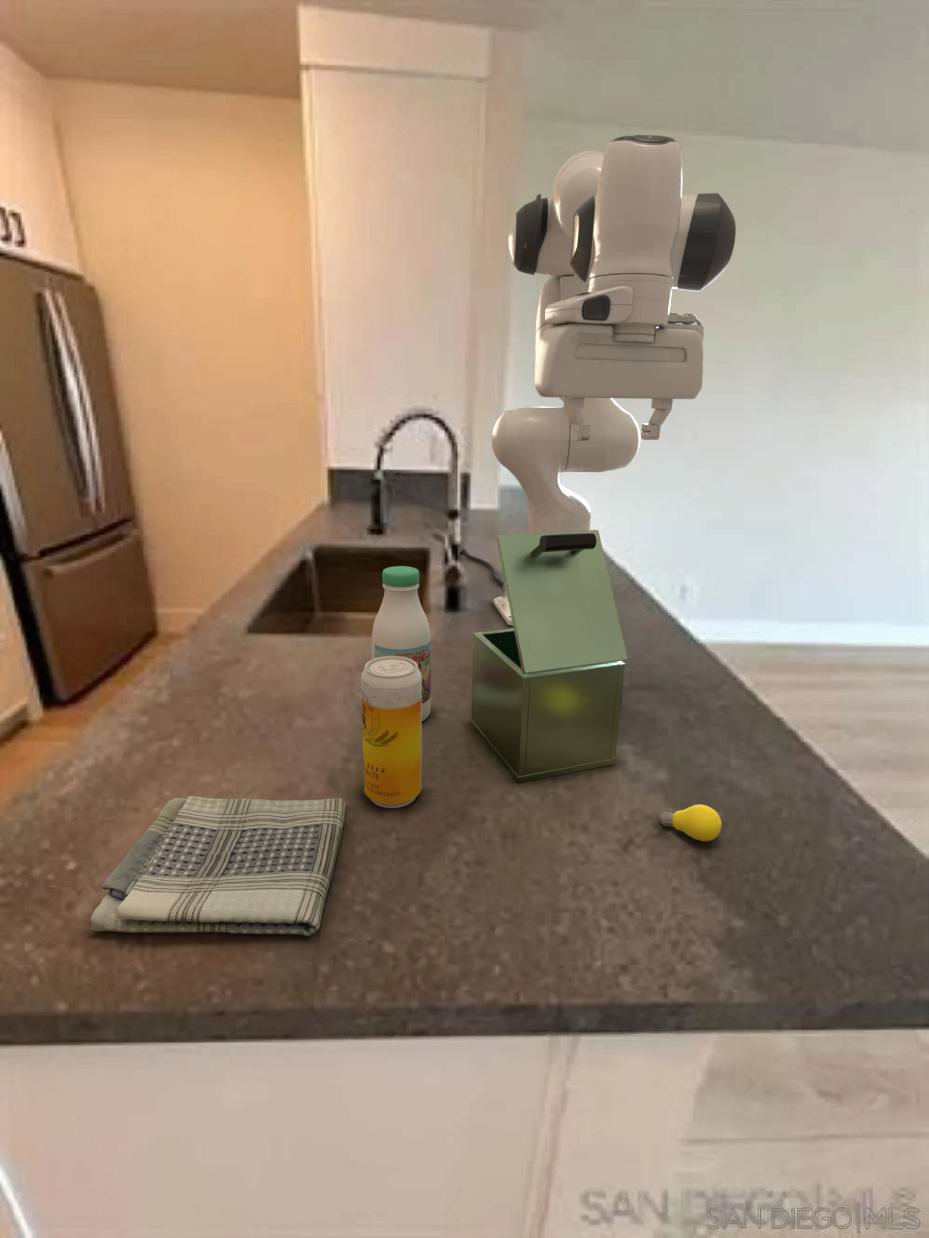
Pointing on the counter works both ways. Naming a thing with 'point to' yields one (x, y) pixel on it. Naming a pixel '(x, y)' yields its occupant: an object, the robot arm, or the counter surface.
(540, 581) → the green panel
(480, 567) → the counter surface
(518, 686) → the olive green box
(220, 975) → the counter surface
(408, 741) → the beer can
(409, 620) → the milk bottle
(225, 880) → the dish towel
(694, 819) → the light bulb
